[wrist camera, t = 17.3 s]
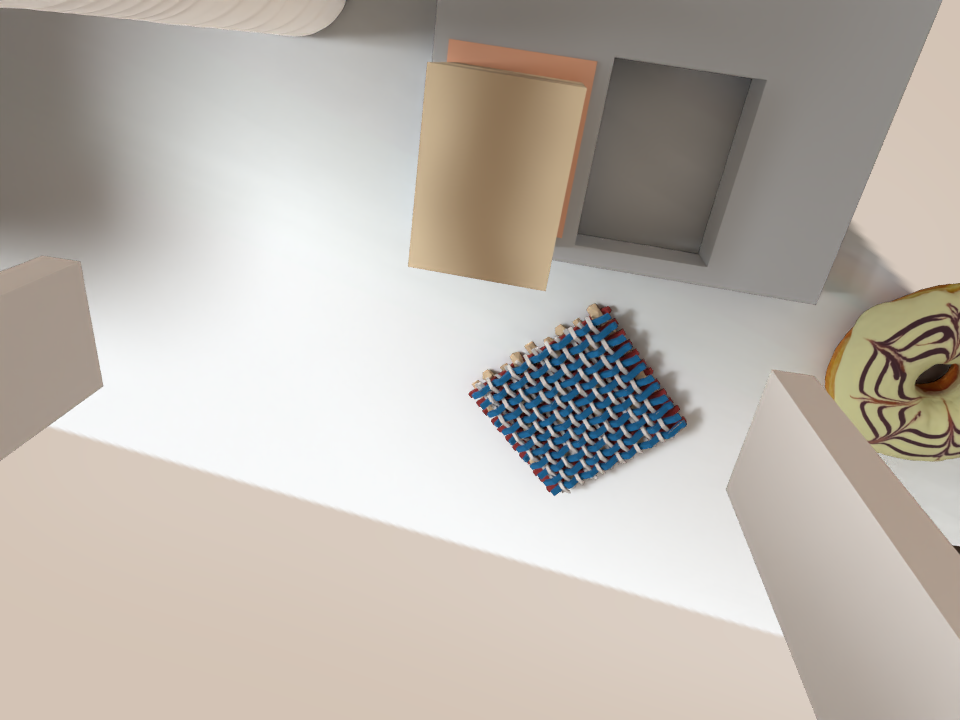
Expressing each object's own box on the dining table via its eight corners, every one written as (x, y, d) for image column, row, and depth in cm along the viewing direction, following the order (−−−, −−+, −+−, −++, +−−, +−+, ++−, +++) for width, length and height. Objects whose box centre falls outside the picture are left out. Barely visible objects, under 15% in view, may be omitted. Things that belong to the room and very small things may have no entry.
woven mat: (462, 379, 40) (458, 394, 38) (601, 292, 36) (603, 304, 35) (552, 489, 43) (552, 507, 41) (689, 419, 39) (695, 436, 37)
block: (438, 227, 33) (408, 266, 26) (456, 62, 29) (427, 62, 23) (549, 246, 32) (545, 291, 26) (581, 82, 29) (587, 88, 22)
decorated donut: (818, 290, 34) (846, 314, 31) (1037, 256, 32) (1093, 279, 29) (817, 444, 39) (841, 480, 35) (1011, 424, 36) (1056, 460, 33)
